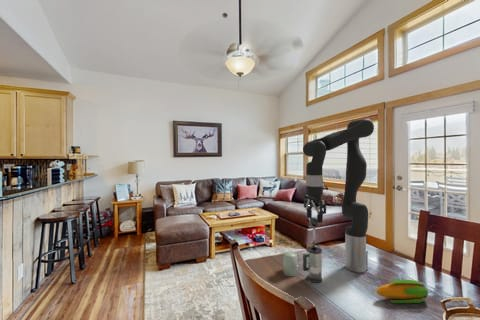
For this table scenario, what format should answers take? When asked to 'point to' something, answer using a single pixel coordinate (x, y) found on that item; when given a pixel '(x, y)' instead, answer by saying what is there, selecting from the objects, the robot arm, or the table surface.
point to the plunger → (313, 223)
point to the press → (313, 264)
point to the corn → (404, 291)
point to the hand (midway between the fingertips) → (314, 220)
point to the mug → (290, 263)
